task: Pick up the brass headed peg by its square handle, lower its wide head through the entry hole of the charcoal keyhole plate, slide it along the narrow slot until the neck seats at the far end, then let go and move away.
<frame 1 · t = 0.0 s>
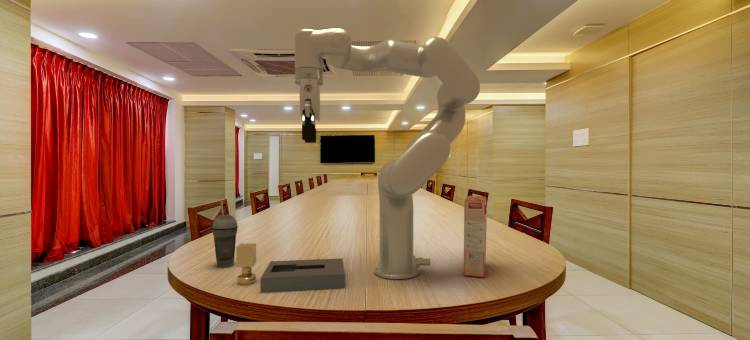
hand: (309, 141, 90), 37 cm above the table, tool pointing down, fingers open, 9 cm apart
cracker box: (475, 270, 96), on the table
beverage cup: (225, 266, 101), on the table
keyhole plate: (305, 280, 88), on the table
brass peg: (246, 282, 87), on the table
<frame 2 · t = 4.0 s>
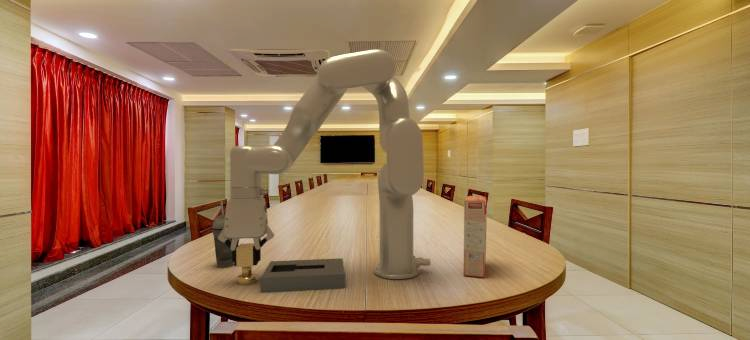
hand: (246, 263, 86), 5 cm above the table, tool pointing down, fingers closed on brass peg, 4 cm apart
brass peg: (246, 282, 87), on the table, touching gripper
everything else where it was.
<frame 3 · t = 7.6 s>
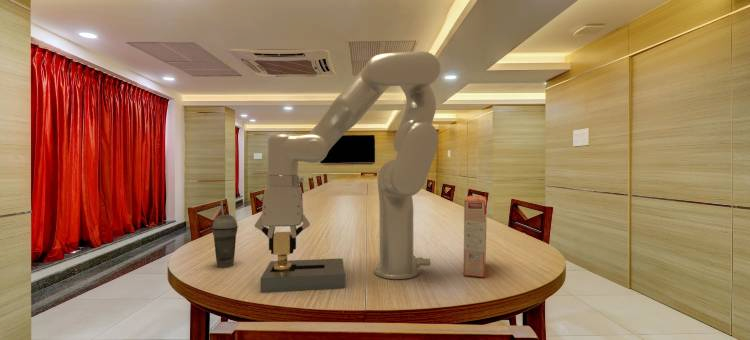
hand: (282, 251, 87), 8 cm above the table, tool pointing down, fingers closed on brass peg, 4 cm apart
brass peg: (282, 270, 87), point 3 cm above the table, touching gripper
everything else where it was.
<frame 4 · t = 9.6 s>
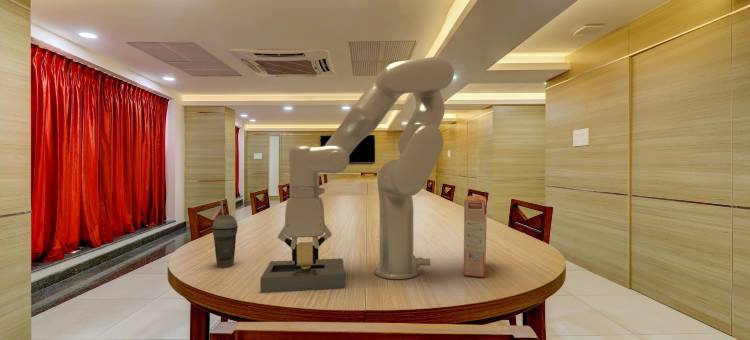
hand: (305, 262, 88), 5 cm above the table, tool pointing down, fingers closed on brass peg, 4 cm apart
brass peg: (305, 280, 88), resting in keyhole plate, touching gripper
everything else where it was.
when the fingers open (5 cm above the table, at t = 11.4 s): brass peg stays where it is, resting in keyhole plate.
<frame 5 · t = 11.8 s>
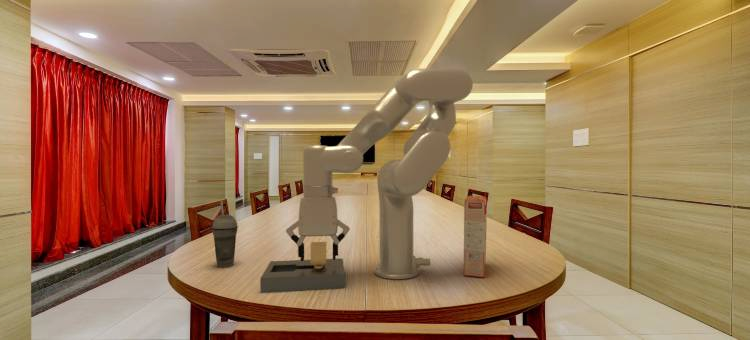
hand: (318, 258, 88), 6 cm above the table, tool pointing down, fingers open, 7 cm apart
brass peg: (318, 279, 88), resting in keyhole plate
everything else where it was.
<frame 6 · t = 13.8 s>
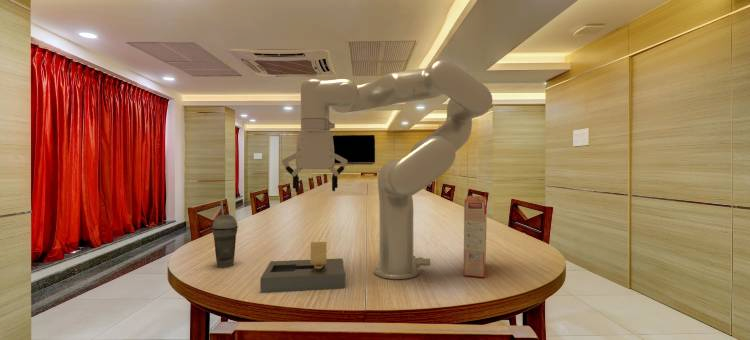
hand: (315, 191, 89), 23 cm above the table, tool pointing down, fingers open, 9 cm apart
nothing on the table moved.
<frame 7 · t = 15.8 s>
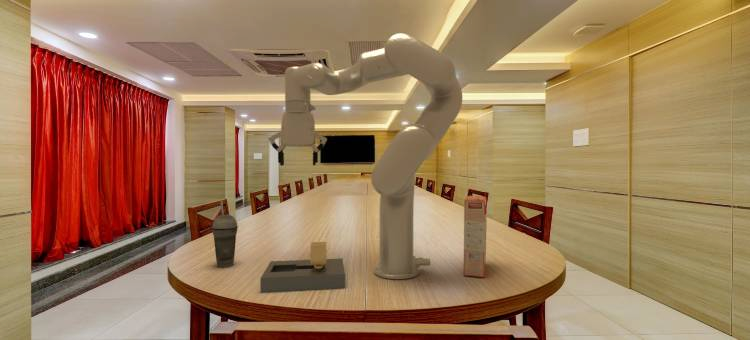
hand: (298, 165, 102), 30 cm above the table, tool pointing down, fingers open, 9 cm apart
nothing on the table moved.
at the end: brass peg 0.1 cm from the target spot on the keyhole plate, point 0.0 cm above the keyhole plate's base; brass peg tilted 0°; the gripper is holding nothing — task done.
